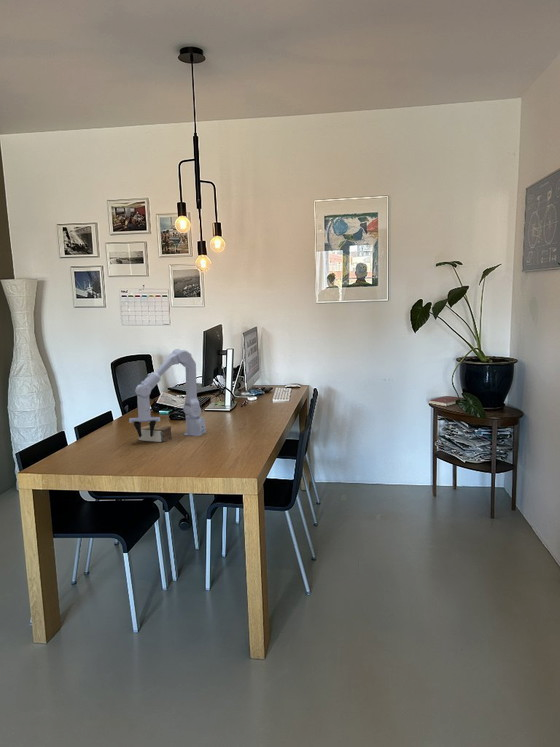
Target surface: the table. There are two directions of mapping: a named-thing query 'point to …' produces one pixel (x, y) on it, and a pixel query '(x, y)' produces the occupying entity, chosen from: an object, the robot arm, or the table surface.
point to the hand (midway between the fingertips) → (145, 436)
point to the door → (156, 436)
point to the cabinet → (164, 429)
